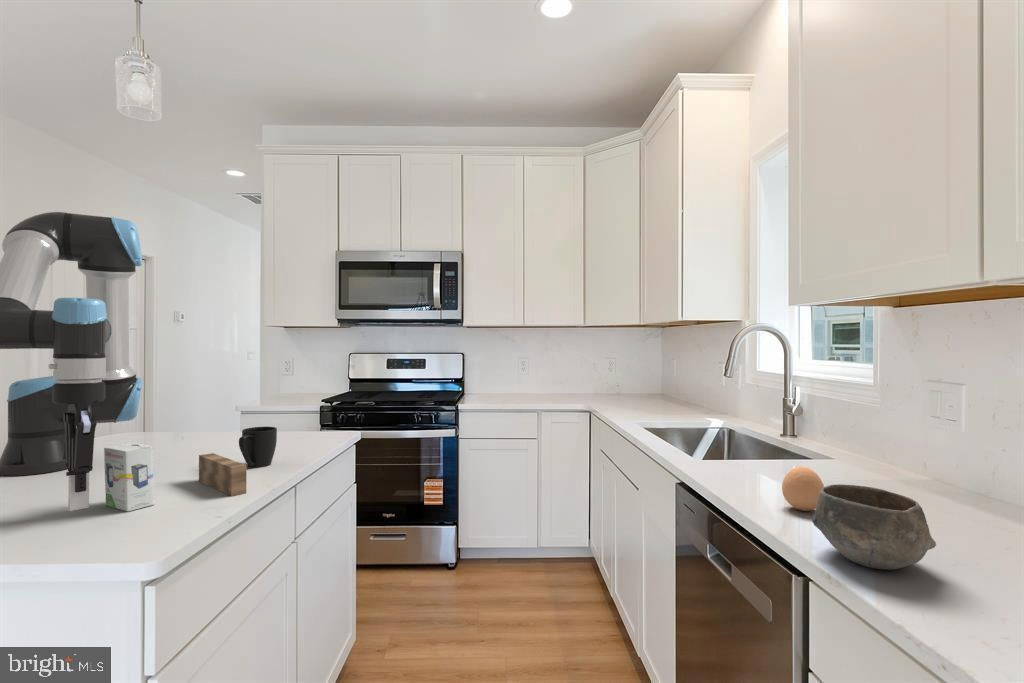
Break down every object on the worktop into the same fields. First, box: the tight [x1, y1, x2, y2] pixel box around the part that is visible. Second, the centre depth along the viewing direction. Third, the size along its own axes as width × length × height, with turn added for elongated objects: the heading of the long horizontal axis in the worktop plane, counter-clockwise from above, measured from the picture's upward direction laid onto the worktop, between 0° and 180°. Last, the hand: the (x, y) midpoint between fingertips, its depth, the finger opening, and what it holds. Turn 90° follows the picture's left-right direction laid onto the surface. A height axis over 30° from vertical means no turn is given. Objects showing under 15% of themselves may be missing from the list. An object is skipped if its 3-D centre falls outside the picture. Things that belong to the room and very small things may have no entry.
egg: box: [781, 465, 825, 512], centre depth 100 cm, size 7×7×8 cm
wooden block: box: [198, 452, 248, 497], centre depth 114 cm, size 18×3×6 cm, turn 51°
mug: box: [238, 426, 278, 469], centre depth 132 cm, size 8×12×10 cm
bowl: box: [811, 483, 937, 570], centre depth 77 cm, size 14×15×10 cm
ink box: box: [103, 442, 156, 512], centre depth 100 cm, size 9×5×12 cm, turn 62°
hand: (78, 508), depth 95 cm, fingers closed
